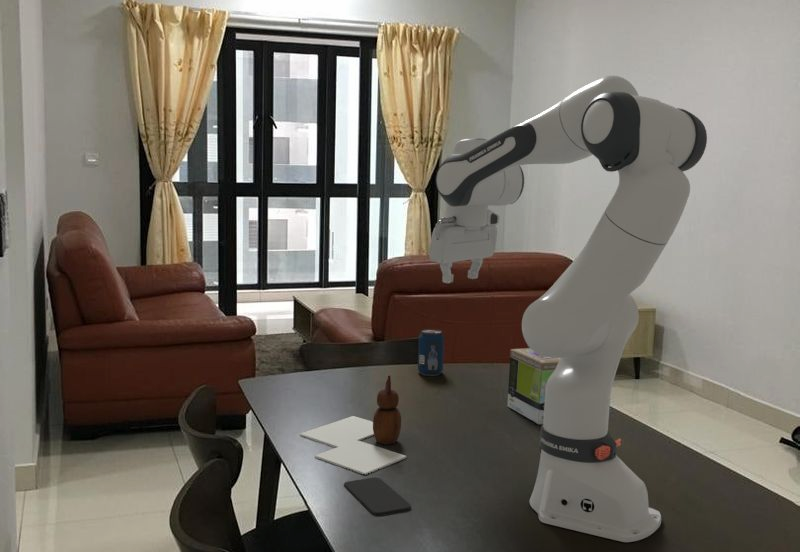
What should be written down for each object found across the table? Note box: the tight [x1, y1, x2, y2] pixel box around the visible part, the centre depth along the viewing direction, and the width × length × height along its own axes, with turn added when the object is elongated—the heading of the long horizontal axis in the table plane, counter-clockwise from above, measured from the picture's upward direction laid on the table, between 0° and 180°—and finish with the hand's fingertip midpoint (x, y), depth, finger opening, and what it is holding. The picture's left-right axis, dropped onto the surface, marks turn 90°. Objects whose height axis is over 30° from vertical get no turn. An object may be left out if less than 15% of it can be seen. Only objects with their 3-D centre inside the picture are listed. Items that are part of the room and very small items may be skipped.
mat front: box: [299, 415, 374, 448], centre depth 186 cm, size 12×17×1 cm
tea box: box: [507, 347, 560, 425], centre depth 201 cm, size 15×10×15 cm, turn 22°
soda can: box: [417, 328, 445, 377], centre depth 235 cm, size 7×7×12 cm
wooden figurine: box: [372, 375, 402, 445], centre depth 179 cm, size 7×6×15 cm
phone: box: [343, 477, 412, 517], centre depth 152 cm, size 7×1×15 cm
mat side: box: [314, 440, 407, 476], centre depth 171 cm, size 14×12×1 cm
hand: (460, 280), depth 181 cm, fingers open, 8 cm apart
